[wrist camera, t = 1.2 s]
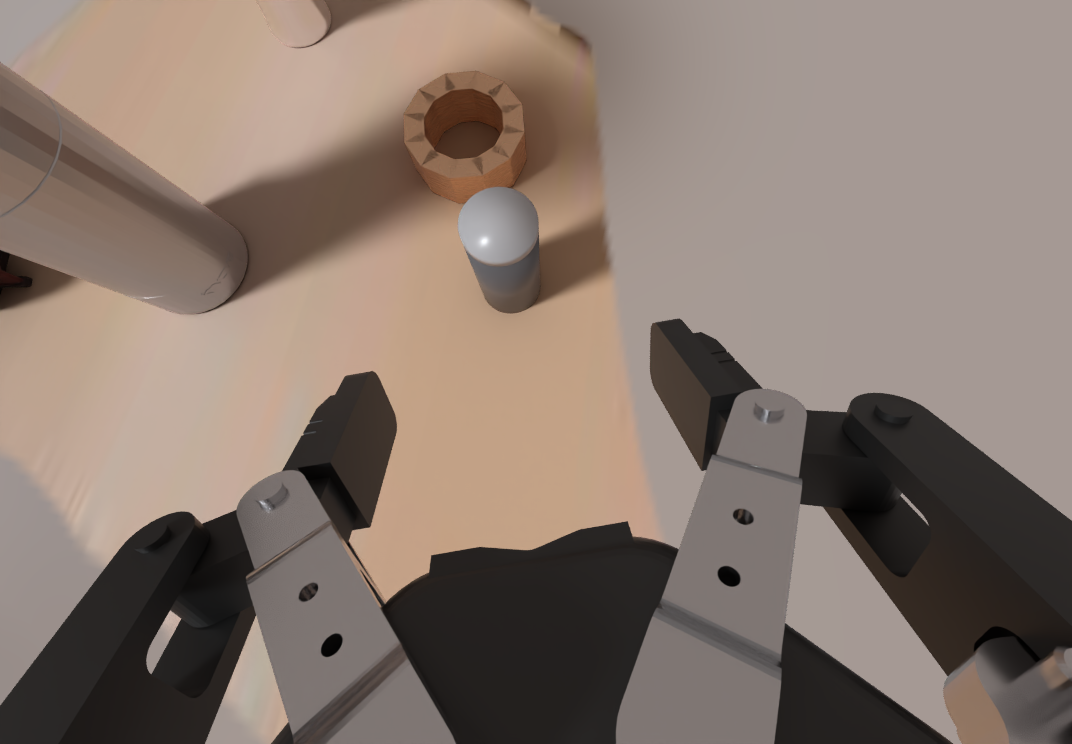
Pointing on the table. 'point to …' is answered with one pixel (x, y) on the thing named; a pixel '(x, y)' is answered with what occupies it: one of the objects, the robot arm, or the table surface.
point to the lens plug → (503, 247)
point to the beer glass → (296, 20)
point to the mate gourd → (8, 280)
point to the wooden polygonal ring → (464, 103)
